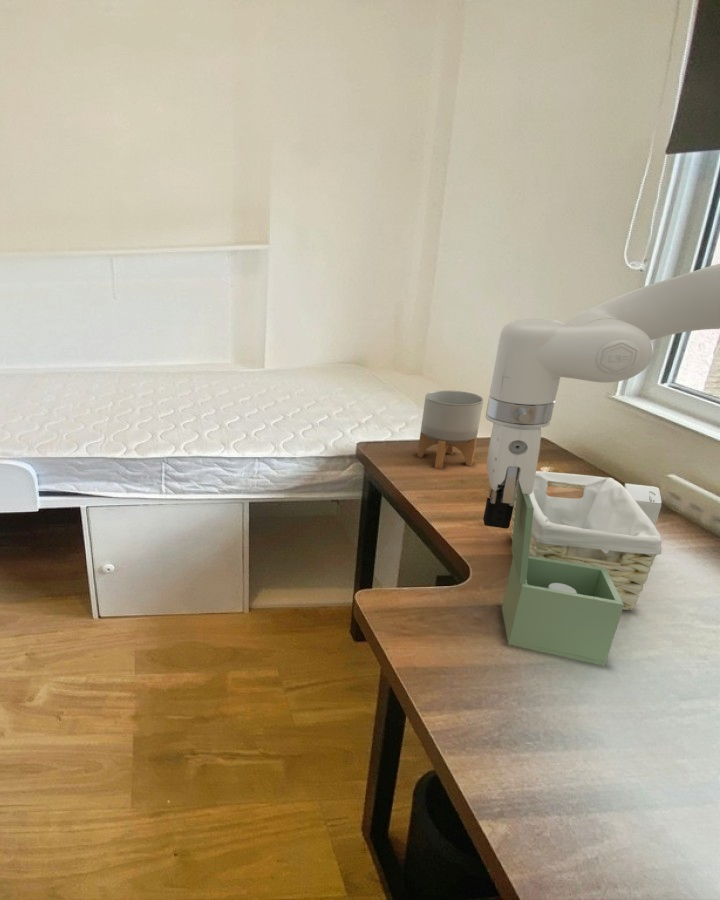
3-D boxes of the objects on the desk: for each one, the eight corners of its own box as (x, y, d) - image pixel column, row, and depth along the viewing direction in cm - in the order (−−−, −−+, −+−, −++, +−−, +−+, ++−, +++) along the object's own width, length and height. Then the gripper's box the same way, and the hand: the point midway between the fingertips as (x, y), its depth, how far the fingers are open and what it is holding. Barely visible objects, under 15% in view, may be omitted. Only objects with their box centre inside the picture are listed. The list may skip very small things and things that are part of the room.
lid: (524, 480, 84) (517, 480, 85) (534, 507, 77) (526, 507, 77) (517, 551, 88) (511, 550, 89) (525, 584, 81) (519, 583, 81)
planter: (476, 457, 149) (488, 394, 143) (465, 473, 141) (477, 407, 134) (424, 448, 158) (432, 388, 151) (411, 463, 149) (419, 400, 142)
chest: (589, 625, 87) (606, 568, 84) (604, 666, 80) (624, 604, 76) (501, 608, 93) (513, 553, 89) (508, 644, 85) (521, 586, 81)
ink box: (609, 534, 111) (625, 481, 106) (643, 541, 108) (660, 486, 103) (610, 554, 105) (626, 498, 100) (645, 561, 102) (663, 504, 97)
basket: (643, 620, 88) (671, 540, 82) (520, 599, 94) (538, 523, 89) (599, 545, 108) (618, 476, 102) (500, 532, 114) (513, 467, 109)
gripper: (562, 429, 70) (533, 554, 76) (542, 397, 82) (518, 507, 88) (491, 424, 73) (469, 544, 80) (483, 394, 85) (464, 500, 92)
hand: (495, 524), depth 84 cm, fingers closed
